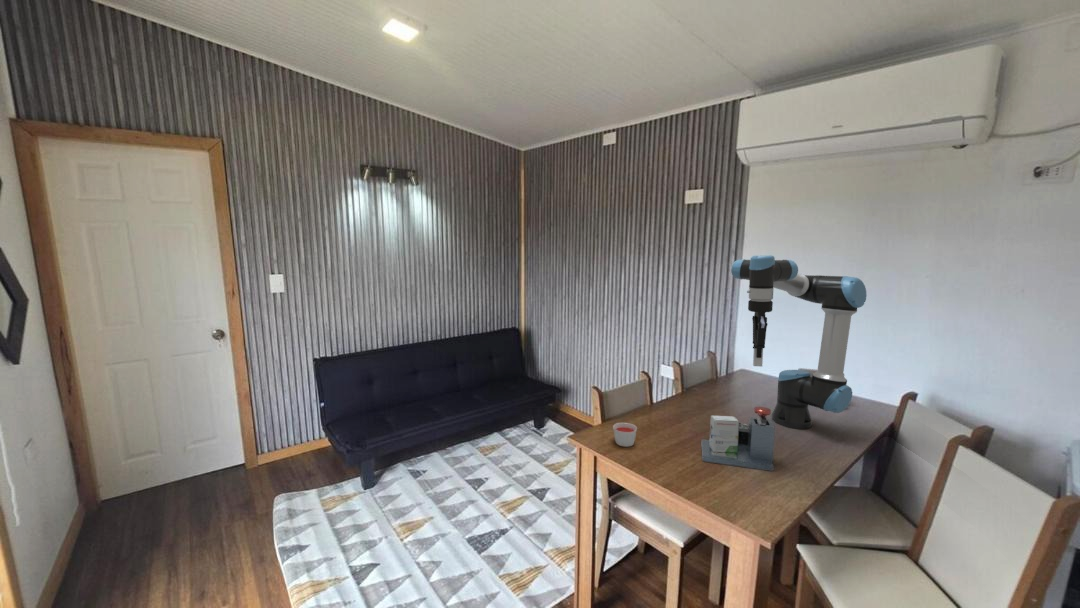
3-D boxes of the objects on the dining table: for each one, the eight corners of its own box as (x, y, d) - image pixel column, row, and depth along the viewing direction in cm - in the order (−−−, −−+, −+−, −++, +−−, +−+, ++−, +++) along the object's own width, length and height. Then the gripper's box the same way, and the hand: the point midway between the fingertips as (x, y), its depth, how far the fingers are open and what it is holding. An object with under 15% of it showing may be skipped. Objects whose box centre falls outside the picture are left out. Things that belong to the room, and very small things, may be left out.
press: (767, 452, 154) (769, 415, 152) (774, 471, 141) (777, 431, 139) (701, 444, 161) (702, 408, 160) (702, 461, 148) (704, 423, 146)
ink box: (712, 452, 150) (714, 420, 149) (708, 445, 155) (710, 414, 154) (738, 453, 149) (739, 421, 148) (732, 446, 154) (734, 415, 153)
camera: (753, 441, 164) (754, 416, 162) (753, 450, 156) (755, 425, 154) (710, 433, 171) (711, 410, 169) (708, 442, 163) (709, 418, 161)
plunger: (765, 446, 152) (768, 405, 150) (770, 457, 143) (773, 414, 141) (750, 444, 153) (752, 404, 151) (754, 455, 145) (756, 413, 143)
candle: (622, 450, 157) (623, 434, 156) (608, 440, 165) (608, 425, 164) (641, 445, 161) (641, 429, 160) (626, 436, 169) (626, 421, 168)
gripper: (745, 297, 154) (743, 360, 157) (751, 302, 141) (749, 370, 145) (768, 297, 151) (765, 361, 155) (776, 302, 139) (773, 371, 142)
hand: (757, 365), depth 150 cm, fingers closed
